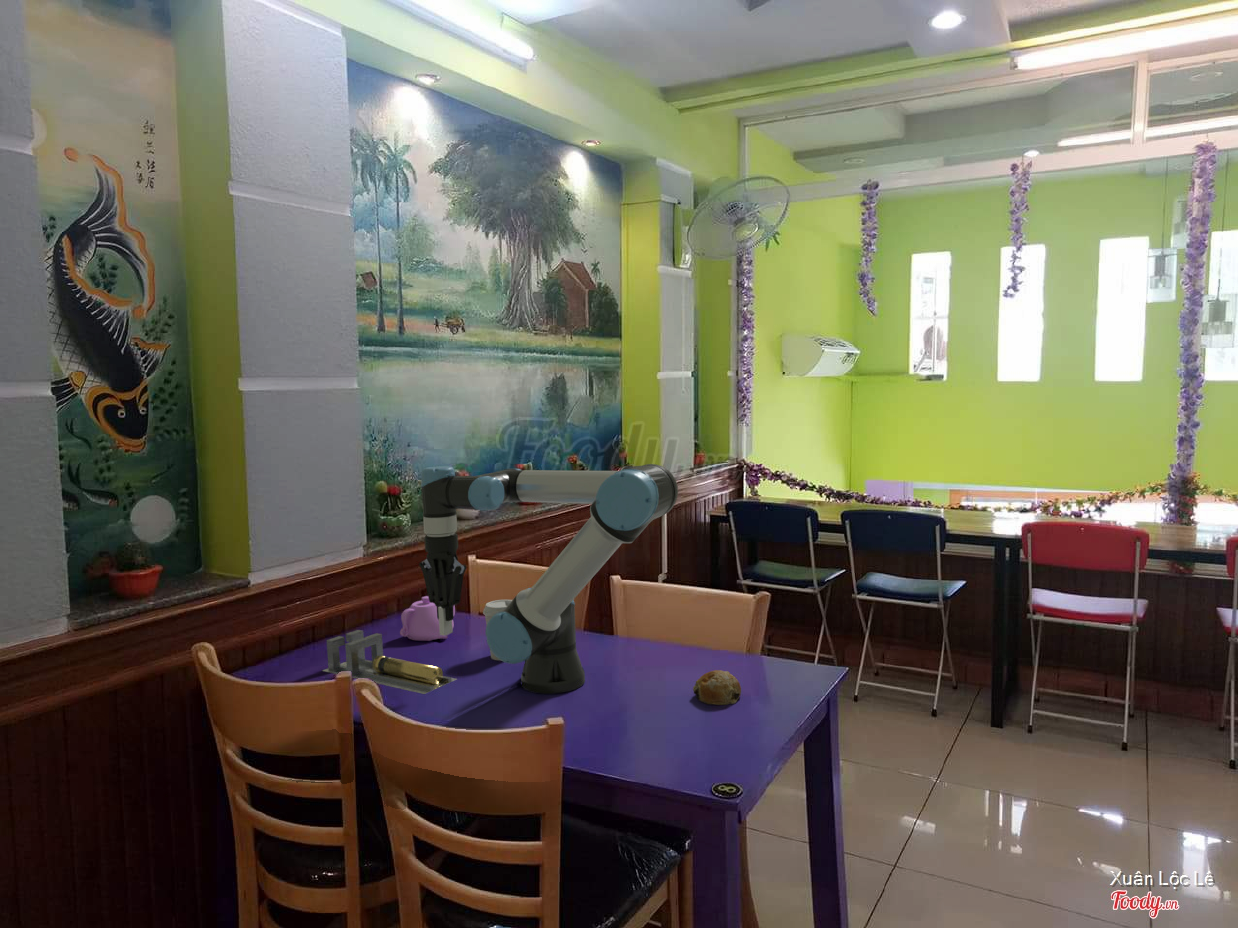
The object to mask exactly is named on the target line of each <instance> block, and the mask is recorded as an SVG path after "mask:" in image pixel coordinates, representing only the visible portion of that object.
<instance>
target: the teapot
mask: <svg viewBox="0 0 1238 928" xmlns="http://www.w3.org/2000/svg"><path fill="white" fill-rule="evenodd" d="M455 613H456V607H455V605H454V606H453V616H454V617H455ZM400 619H401V623H402V628H401V629H400V631H399V634H400V636H401V637H407V638H408V639H409V640H412V641H416V642H417V641H419V642H420V641H422V642H432V641H433V640H438V639H439V640H446V639H448V635H449V634H447V635H445V636H444V635H440V629H439V619H438V618H437V606H436V605H435V604H434V603H430V601H429V597H428V595H425V596H422V597H421V600H417V601H414V602H413V603H412V604H411V605H410V606H409V608H406V609H405V610H404V611H402V613H401V616H400ZM454 623H455V622H454V619H453V620H452V629H454Z"/></svg>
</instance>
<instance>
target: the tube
mask: <svg viewBox="0 0 1238 928" xmlns="http://www.w3.org/2000/svg"><path fill="white" fill-rule="evenodd" d="M373 669H374V671H376V672H381V673H385V674H390V675H394V676H399V677H404V678H408V679H413V680H417V681H422V682H427V683H431V684H438V683H439V682H440V681H441V680H442V677H443V676H444V671H443V669H442V668H441V667H438V666H434V665H429V664H424V663H419V662H415V661H411V660H410V661H409V660H405V659H401V658H400V659H399V658H394V657H390V656H385V655H383V656H377V657H376V658H375V659H374V661H373Z"/></svg>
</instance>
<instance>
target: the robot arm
mask: <svg viewBox="0 0 1238 928" xmlns="http://www.w3.org/2000/svg"><path fill="white" fill-rule="evenodd" d="M420 482H421V484H420V485H421V486H420V489H421V490H420V491H421V499H422V500H421V501H422V510H423V513H422V515H423V516H422V517H423V533H424V534H425V536H424V550H425V552H426V553H427V555H426V559H424V560H422V561H420V562H418V563H419V567H420V570H421V571H422V575H423V578H424V579H423V580H424V583H425V587H426V591H427V592H426V593H427V596H428V597H429V601H430V603H434V604H435V605H436V606H437V618H438V619H439V629H440V635H444V636H445V635H447V634H448V635H450V634H452V633H454V631H453V629H454V628H453V629H452V620H453V621H454V617H455V615H454V616H453V606H454V605H458V604H460V603H461V599H462V598H461V596H462V589H463V582H464V574H465V572H466V571H467V568H468V567H467V565H466V563H465V564H462V563H461V562H459V558H458V556H457V551H458V548H459V539H458V538H459V537H458V534H457V533H456V532H457V531H458V521H457V520H458V519H457V518H458V517H457V510H469V511H470V510H471V511H481V512H485V511H495V510H498V509H499V508H500V506H501V505H503V504H505V503H512V502H513V503H546V504H548V503H550V504H553V503H554V504H583V505H585V504H586V505H590V507H589V511H590V512H589V513H590V518H589V519H587V521H586V522H585V523H584V524H583V526H582V527H581V528H580V530H578V531H577V533H576V534H575V535H574V537H572V539H571V540H570V541H569V543H568V544H567V545H566V546H565V548H564V549H563V550H562V551H561V552H560V554H559V555H558V556H557V557H556V558H555V559H554V561H553V562H551V564H550V565H549V566H548V568H547V569H546V570H545V571H544V572H543V574H542V575H541V576H540V577H539V579H537V581H536V582H535V583H534V584H533V585H532V587H528V588H525V589H522V590H520V591H519V592H518V593H517V594H516V596H514V598H513V599H511V600H512V601H511V602H510V604H509V605H508V606H507V607H506V608H505V609H504V610H503V611H502V612H498V613H496V614H495V615H494V616H493V617H492V618H491V619H490V620H489V622H488V623H487V625H486V627H485V636H486V643H487V645H488V648H489V650H491V651H492V653H493V654H494V655H495V656H496V657H497V658H498V659H500V660H501V661H502V662H503V663H506V664H510V665H516V664H519V663H522V662H524V665H523V668H522V672H521V675H520V676H521V677H520V679H521V681H520V682H521V683H520V684H521V687H522V688H523V689H524V690H525V691H528V692H530V693H536V694H545V695H549V694H562V693H566V692H570V691H573V690H577V689H579V688H580V687H582V686H583V685H584V684H585V682H586V678H585V677H586V673H585V670H584V668H583V665H582V662H581V659H580V656H579V653H578V651H577V641H576V640H577V635H576V634H577V633H576V610H575V609H576V608H575V606H576V602H575V598H577V596H578V595H579V594H580V593H581V592H582V590H583V589H584V588H585V587H587V586H586V585H588V583H590V582H591V580H592V579H593V577H594V576H595V575H596V574H597V573H598V572H599V571H600V570H601V568H602V567H603V566H604V565H605V564H606V563H607V561H609V559H610V558H611V557H612V556H613V555H614V553H616V551H617V550H618V549H619V548H620V546H621V545H622V544H632V543H633V542H635V540H636V539H637V538H638V537H639V536H640V535H641V533H642V532H643V531H644V530H645V529H646V528H647V527H648V526H649V524H651V522H652V521H653V520H656V519H658V518H660V517H663V516H665V515H667V514H668V513H669V512H670V511H671V510H672V509H673V507H674V506H675V504H676V502H677V499H678V498H679V497H678V495H679V486H678V482H677V480H676V478H675V476H674V474H672V472H671V471H670V470H669V469H667V468H666V467H664V466H662V465H659V464H655V463H646V464H643V465H633V466H631V465H629V466H628V465H625V466H623V467H621V469H620V470H562V469H561V470H554V469H553V470H551V469H550V470H549V469H548V470H547V469H546V470H545V469H544V470H541V469H538V470H537V469H526V470H523V469H521V468H516V467H515V468H511V467H510V468H505V469H502V470H498V471H494V472H490V473H483V474H480V475H474V476H473V475H471V476H470V475H468V476H467V475H466V476H465V475H464V476H461V475H456V473H455V469H454V467H453V466H450V465H449V466H448V465H438V466H435V465H434V466H428V467H425V468H423V469H422V470H421V481H420ZM448 635H447V636H448ZM500 660H499V661H500Z"/></svg>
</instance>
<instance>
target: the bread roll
mask: <svg viewBox="0 0 1238 928" xmlns="http://www.w3.org/2000/svg"><path fill="white" fill-rule="evenodd" d="M692 691H693V694H694V695H695V698H696V699H697V700H698V701H700V702H701V703H704V704H707V705H708V706H709V705H713V706H714V705H715V706H726V705H734V704H736V703H737V701H738V700H739V699H740V697H741V694H742V686H741V684H740V682H739V680H738V679H737V678H736V677H735V676H734V675H733V674H731V673H730V671H728V670H725V671H724V670H720V669H716V670H715V669H713V670H711V671H708V672H705V673H704V674H702V675H701V676H700V677H699V678H698V679H697V680H696V681H695V684H694V686H693V687H692Z"/></svg>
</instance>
